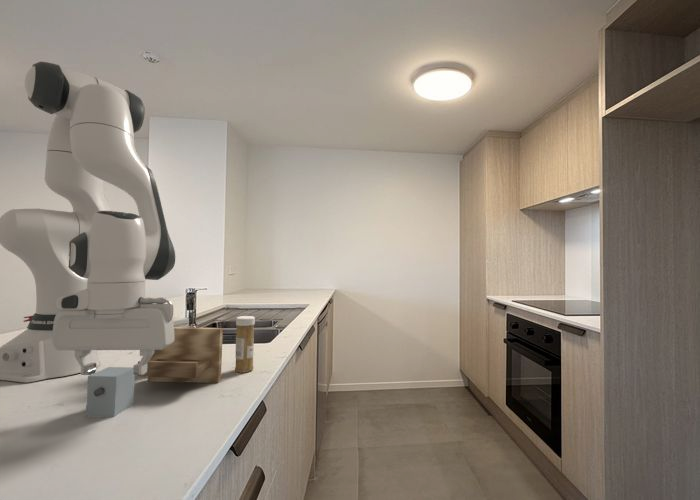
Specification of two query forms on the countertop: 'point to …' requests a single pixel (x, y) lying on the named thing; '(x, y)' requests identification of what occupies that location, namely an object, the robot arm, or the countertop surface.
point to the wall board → (188, 357)
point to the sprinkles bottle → (244, 343)
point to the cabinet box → (110, 391)
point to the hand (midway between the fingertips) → (114, 374)
